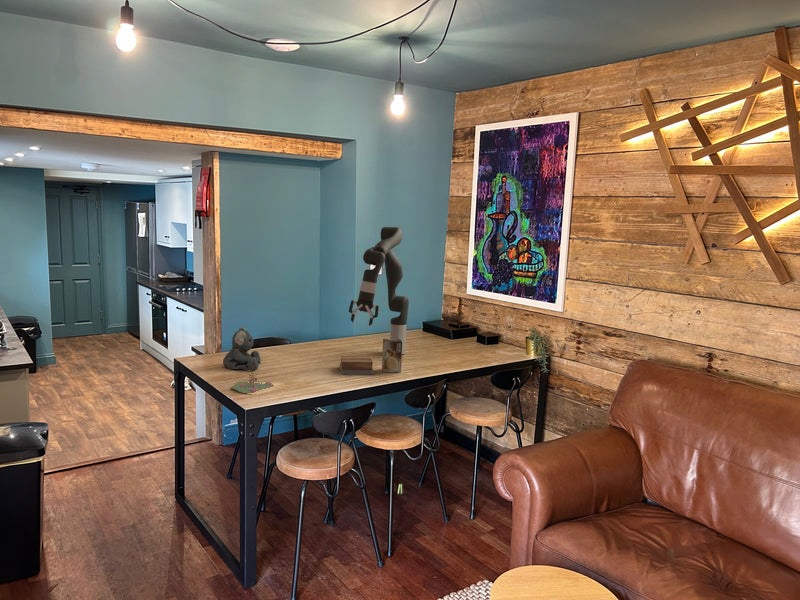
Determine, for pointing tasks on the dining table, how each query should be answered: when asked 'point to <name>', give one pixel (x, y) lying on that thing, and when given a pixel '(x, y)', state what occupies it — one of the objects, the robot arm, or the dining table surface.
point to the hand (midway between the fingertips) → (361, 323)
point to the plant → (251, 386)
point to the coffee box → (392, 355)
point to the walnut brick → (356, 363)
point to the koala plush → (242, 352)
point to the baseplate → (356, 371)
